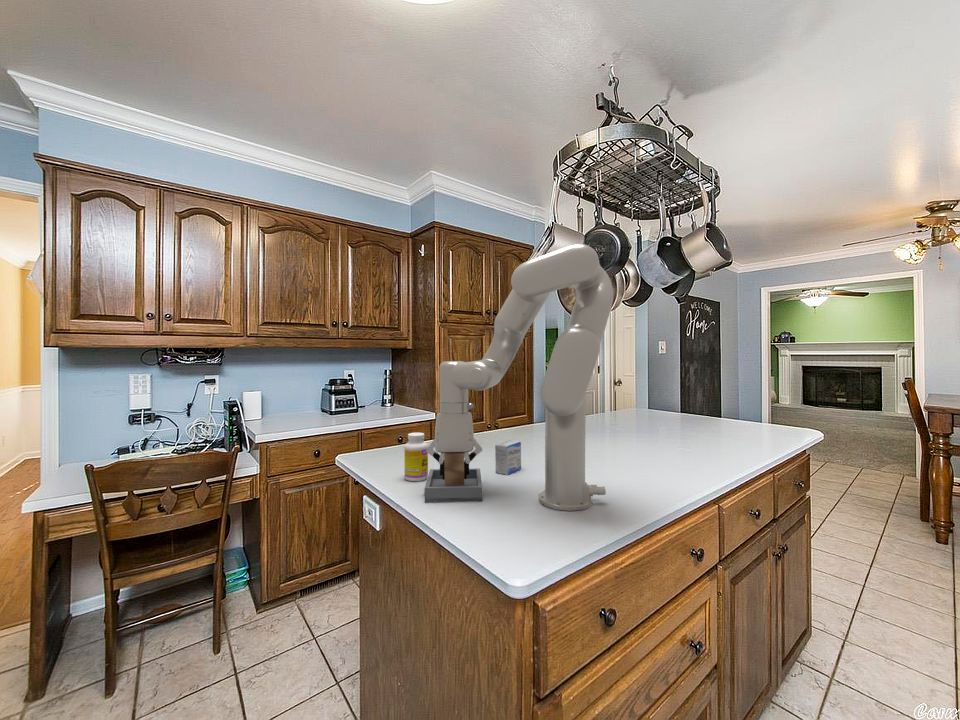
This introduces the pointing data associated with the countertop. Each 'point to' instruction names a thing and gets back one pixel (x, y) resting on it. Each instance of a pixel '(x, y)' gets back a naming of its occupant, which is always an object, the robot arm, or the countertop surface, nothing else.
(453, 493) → the tray
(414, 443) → the supplement bottle
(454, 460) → the walnut block
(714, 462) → the countertop surface
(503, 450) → the medicine box
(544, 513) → the countertop surface
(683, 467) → the countertop surface
